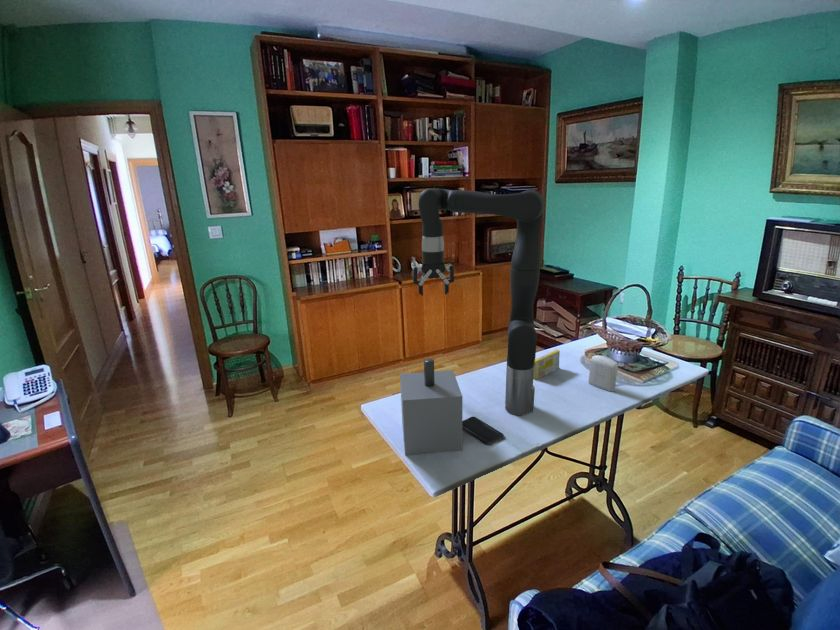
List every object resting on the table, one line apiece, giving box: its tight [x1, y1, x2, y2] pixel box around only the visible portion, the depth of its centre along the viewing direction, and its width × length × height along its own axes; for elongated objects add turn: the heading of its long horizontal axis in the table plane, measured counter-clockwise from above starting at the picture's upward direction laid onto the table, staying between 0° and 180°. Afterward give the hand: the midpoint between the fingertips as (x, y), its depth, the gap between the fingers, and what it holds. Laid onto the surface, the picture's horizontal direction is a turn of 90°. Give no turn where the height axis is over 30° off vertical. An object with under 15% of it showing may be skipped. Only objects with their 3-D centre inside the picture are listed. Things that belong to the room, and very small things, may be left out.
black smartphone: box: [462, 416, 505, 446], centre depth 143 cm, size 8×1×15 cm
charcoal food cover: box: [399, 358, 463, 456], centre depth 137 cm, size 18×18×27 cm
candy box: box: [533, 349, 561, 381], centre depth 181 cm, size 16×2×8 cm, turn 128°
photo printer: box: [588, 354, 619, 392], centre depth 168 cm, size 10×4×12 cm, turn 38°
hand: (433, 294), depth 154 cm, fingers open, 8 cm apart
